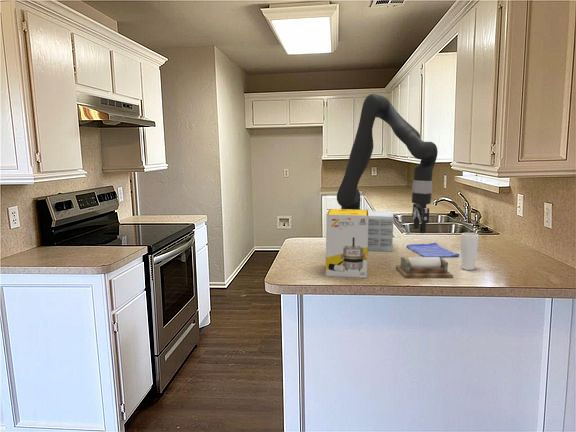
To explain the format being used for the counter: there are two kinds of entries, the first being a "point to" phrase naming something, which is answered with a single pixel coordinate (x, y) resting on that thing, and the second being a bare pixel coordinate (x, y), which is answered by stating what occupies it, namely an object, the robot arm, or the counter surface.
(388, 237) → the supplement box
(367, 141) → the robot arm
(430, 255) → the dish towel
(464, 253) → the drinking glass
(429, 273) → the cradle
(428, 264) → the roll
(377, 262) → the counter surface
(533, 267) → the counter surface
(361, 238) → the packaging box
